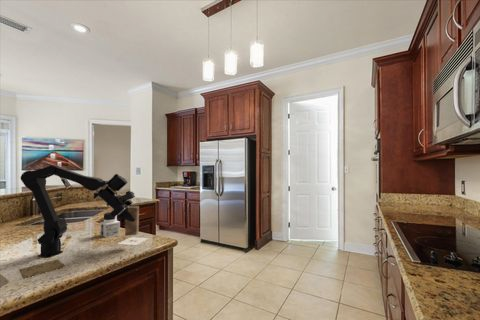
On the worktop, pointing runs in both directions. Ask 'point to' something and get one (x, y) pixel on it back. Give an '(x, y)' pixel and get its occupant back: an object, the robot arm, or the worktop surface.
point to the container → (109, 226)
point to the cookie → (41, 268)
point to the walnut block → (130, 226)
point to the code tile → (133, 241)
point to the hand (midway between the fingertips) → (135, 219)
